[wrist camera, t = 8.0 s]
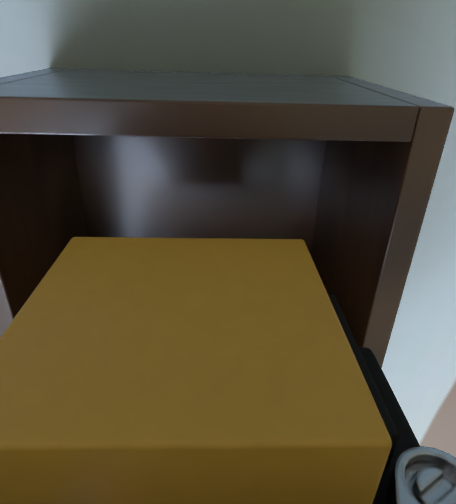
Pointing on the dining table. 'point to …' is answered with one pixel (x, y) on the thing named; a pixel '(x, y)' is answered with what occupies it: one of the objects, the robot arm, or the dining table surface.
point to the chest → (220, 173)
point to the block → (184, 380)
